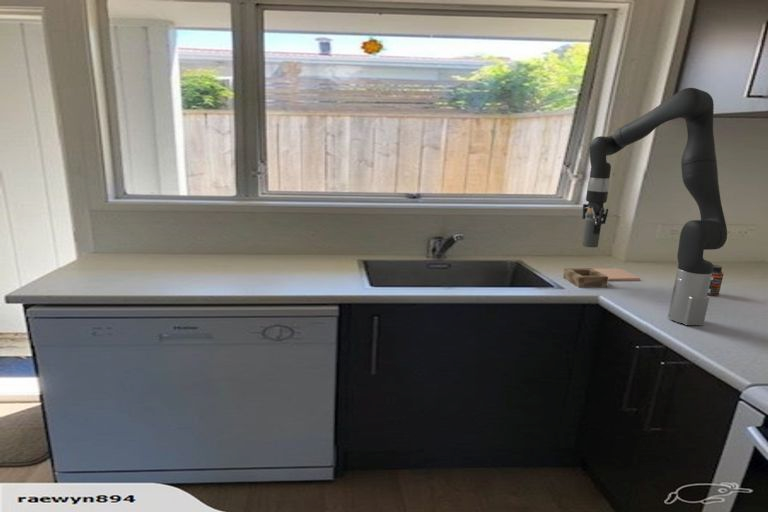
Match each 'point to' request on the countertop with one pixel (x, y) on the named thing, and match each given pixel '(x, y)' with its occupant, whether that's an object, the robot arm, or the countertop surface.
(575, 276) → the pocket holder
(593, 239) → the bottle
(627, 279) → the tile
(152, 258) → the countertop surface
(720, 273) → the supplement bottle
